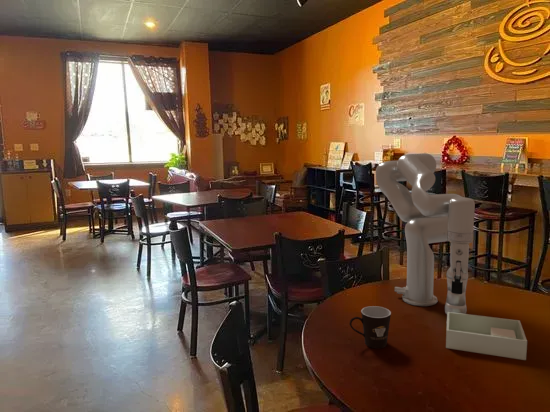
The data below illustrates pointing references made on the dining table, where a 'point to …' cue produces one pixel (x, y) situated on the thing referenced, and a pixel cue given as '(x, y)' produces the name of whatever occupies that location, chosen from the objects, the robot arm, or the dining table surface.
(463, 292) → the plastic bottle
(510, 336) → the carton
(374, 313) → the coffee mug
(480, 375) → the dining table surface
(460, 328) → the crate
